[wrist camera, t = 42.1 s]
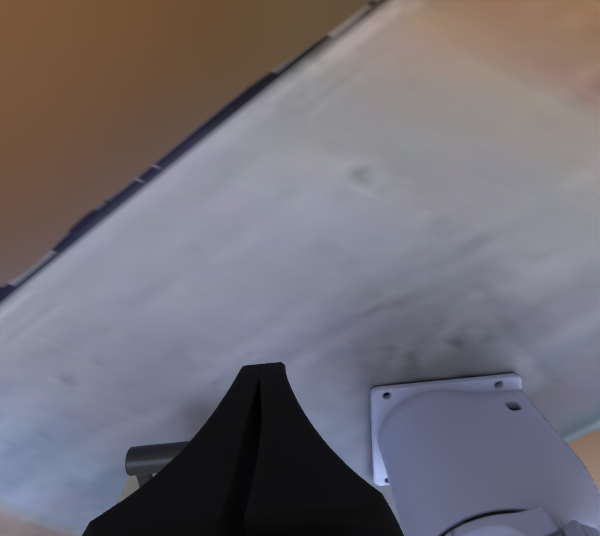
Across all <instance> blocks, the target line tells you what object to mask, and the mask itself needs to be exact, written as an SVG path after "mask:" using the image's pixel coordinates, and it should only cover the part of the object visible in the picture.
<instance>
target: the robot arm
mask: <svg viewBox="0 0 600 536" xmlns="http://www.w3.org/2000/svg"><path fill="white" fill-rule="evenodd" d="M499 381H500V382H499ZM496 382H499V383H498V384H496V385H495V383H496ZM521 389H522V379H521V377H520V376H519V375H518V374H516V373H510V374H500V375H490V376H480V377H470V378H460V379H449V380H439V381H429V382H419V383H409V384H398V385H388V386H378V387H374V388H373V389H372V390H371V391H370V414H371V444H372V473H373V481H374V483H375V484H376V485H378V486H384V485H390V487H391V490H392V494H393V497H394V501H395V504H396V508H397V511H398V515H399V518H400V522H401V525H402V529H403V532H404V535H403V533H402V530H401V528H400V526H399V524H398V522H397V520H396V518H395V516H394V514H393V512H392V510H391V508H390V507H389V505H388V503H387V501H386V500H385V498H384V496H383V495H382V493H381V492H379V491H378V490H376V489H375V488H374V487H372V486H371V485H370V484H368V483H367V482H366V481H365V480H364V479H362V478H361V477H360V476H359V475H358V474H356V473H355V472H354V471H353V470H352V469H351V468H350V467H349V466H347V465H346V464H345V463H344V461H343V460H342V459H341V458H340V457H339V456H338V455H337V454H336V453H335V452H334V451H333V450H332V449H331V448H330V447H329V446H328V445H327V443H326V442H325V441H324V440H323V439H322V437H321V436H320V435H319V434H318V432H317V431H316V430H315V428H314V427H313V425H312V424H311V423H310V421H309V420H308V418H307V416H306V415H305V413H304V412H303V410H302V408H301V406H300V405H299V403H298V401H297V399H296V397H295V395H294V393H293V391H292V389H291V386H290V384H289V381H288V379H287V375H286V370H285V365H284V364H283V363H282V362H277V363H267V364H257V365H247V366H243V367H242V368H241V369H240V371H239V373H238V375H237V377H236V379H235V380H234V382H233V384H232V385H231V387H230V389H229V390H228V392H227V393H226V395H225V396H224V398H223V399H222V401H221V402H220V404H219V405H218V407H217V408H216V410H215V411H214V412H213V414H212V415H211V416H210V418H209V419H208V420H207V422H206V423H205V424H204V426H203V427H202V428H201V429H200V431H199V432H198V433H197V434H196V435H195V437H194V438H193V439H192V440H191V441H190V442H189V443H188V444H187V445H186V447H185V448H184V449H183V450H182V451H181V452H180V453H179V454H178V455H177V456H176V457H175V458H174V459H172V460H171V461H170V462H169V463H168V464H167V465H166V466H165V467H164V468H163V469H162V470H161V471H160V472H158V473H157V474H156V475H155V476H154V477H152V478H151V479H150V480H149V481H147V482H146V483H145V484H144V485H142V486H141V487H140V488H139V489H137V490H136V491H135V492H133V493H132V494H131V495H129V496H128V497H127V498H125V499H124V500H122V501H121V502H119V503H118V504H116V505H115V506H113V507H112V508H110V509H109V510H107V511H106V512H104V513H103V514H101V515H100V516H98V517H97V518H95V519H94V520H92V521H91V522H90V523H89V524H88V526H87V528H86V530H85V532H84V533H83V535H82V536H600V493H599V491H598V488H597V487H596V484H595V483H594V480H593V479H592V477H591V475H590V473H589V472H588V470H587V468H586V467H585V465H584V464H583V462H582V461H581V460H580V459H579V457H578V456H577V455H576V454H575V452H574V451H573V450H572V449H571V448H570V447H569V445H568V444H567V443H566V442H565V441H564V440H563V438H562V437H561V436H560V435H559V434H558V433H557V431H556V430H555V429H554V428H553V427H552V426H551V424H550V423H549V422H548V421H547V420H546V418H545V417H544V416H543V415H542V414H541V413H540V411H539V410H538V409H537V408H536V407H535V406H534V404H533V403H532V402H531V401H530V400H529V399H528V397H527V396H526V395H525V394H524V393H523V392H522V391H521ZM386 392H388V393H389V394H388V395H383V394H384V393H386ZM387 477H388V478H387Z"/></svg>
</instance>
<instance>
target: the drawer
mask: <svg viewBox="0 0 600 536" xmlns="http://www.w3.org/2000/svg"><path fill="white" fill-rule="evenodd" d="M189 442H190V441H186V442H176V443H166V444H156V445H145V446H135V447H131V448H130V449H129V450H128V452H127V455H126V461H125V467H126V472H127V474H128V475H129V478H128V481H127V483H126V485H125V488H124V490H123V492H122V495H121V497H120V500H119V502H121V501H122V500H124V499H125V498H127V497H128V496H129V495H131V494H132V493H133V492H135V491H136V490H137V489H139V488H140V487H141V486H142V485H144V484H145V483H146V482H147V481H149V480H150V479H151V478H152V477H154V476H155V475H156V474H157V473H158V472H160V471H161V470H162V469H163V468H164V467H165V466H166V465H167V464H168V463H169V462H170V461H171V460H172V459H174V458H175V457H176V456H177V455H178V454H179V453H180V452H181V451H182V450H183V449H184V448H185V447H186V445H187V444H188V443H189ZM119 502H118V503H119Z"/></svg>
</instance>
